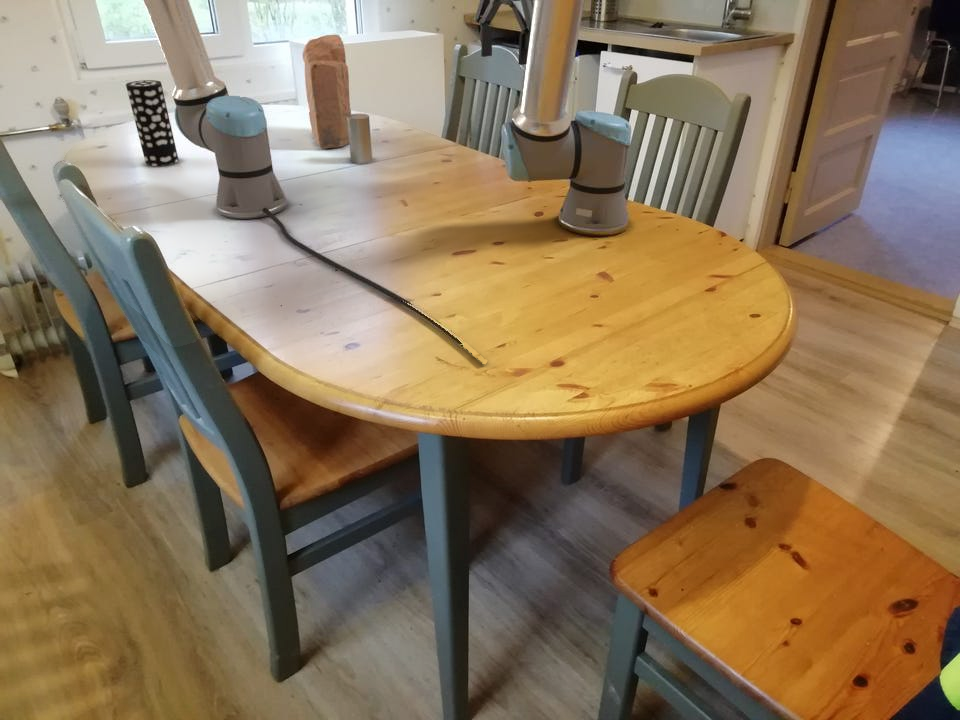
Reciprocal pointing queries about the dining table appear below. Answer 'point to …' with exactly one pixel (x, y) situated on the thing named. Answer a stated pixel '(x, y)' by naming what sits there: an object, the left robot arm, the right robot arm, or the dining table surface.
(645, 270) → the dining table surface
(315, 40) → the stone
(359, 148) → the tin
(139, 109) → the black white spotted cylinder
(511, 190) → the dining table surface
